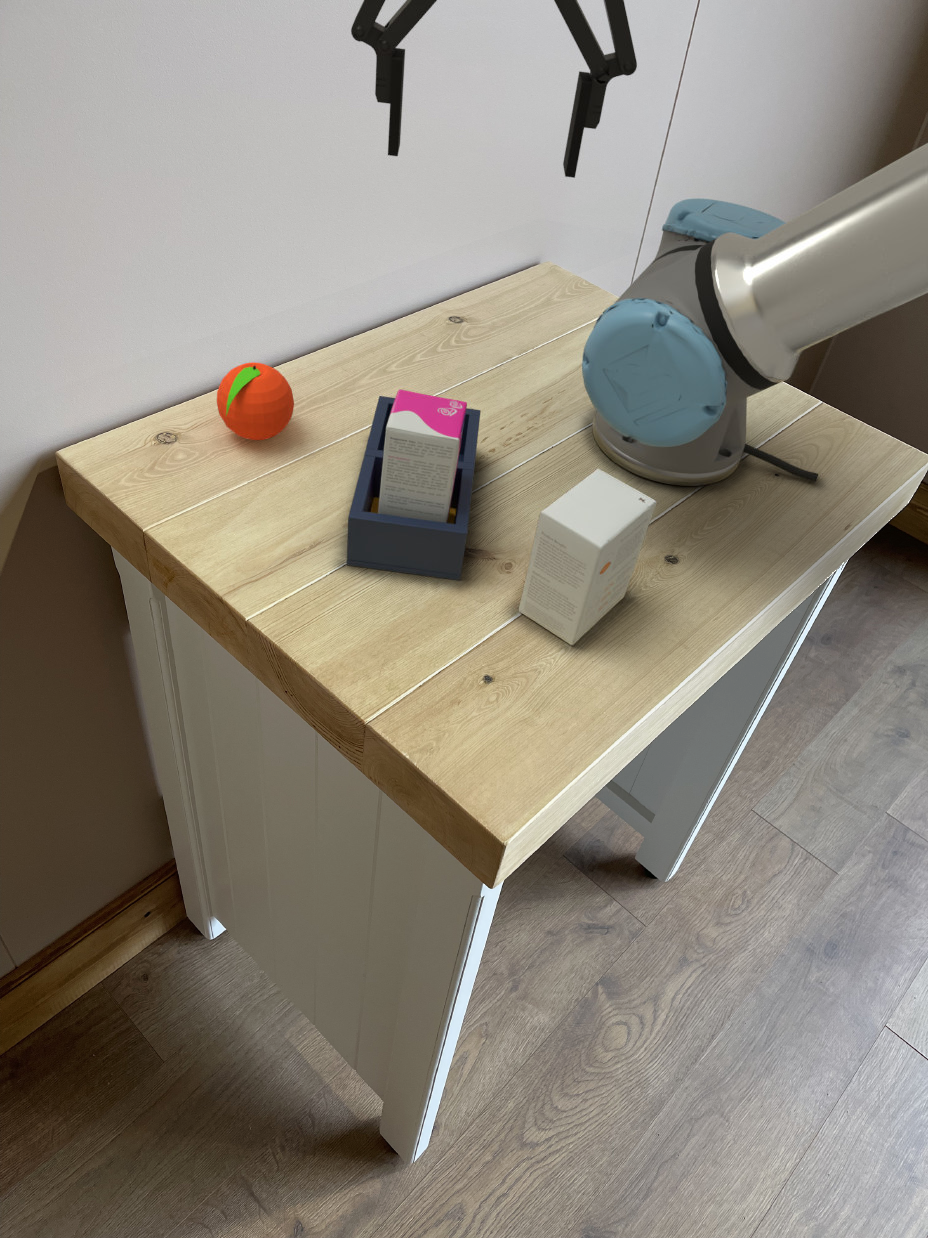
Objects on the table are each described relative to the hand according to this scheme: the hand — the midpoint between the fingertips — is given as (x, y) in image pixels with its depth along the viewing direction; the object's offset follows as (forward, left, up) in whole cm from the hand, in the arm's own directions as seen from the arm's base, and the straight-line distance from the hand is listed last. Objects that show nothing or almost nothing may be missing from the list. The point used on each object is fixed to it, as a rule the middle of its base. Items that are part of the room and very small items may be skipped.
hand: (481, 160), depth 71 cm
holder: (+2, +11, -26) cm, 28 cm away
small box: (-12, +21, -26) cm, 35 cm away
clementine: (+18, +4, -26) cm, 32 cm away
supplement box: (+2, +15, -25) cm, 29 cm away
